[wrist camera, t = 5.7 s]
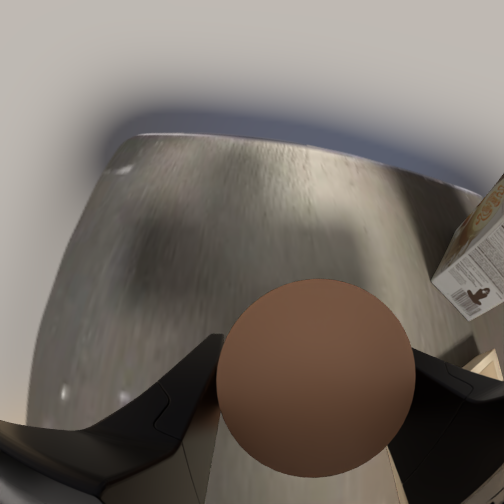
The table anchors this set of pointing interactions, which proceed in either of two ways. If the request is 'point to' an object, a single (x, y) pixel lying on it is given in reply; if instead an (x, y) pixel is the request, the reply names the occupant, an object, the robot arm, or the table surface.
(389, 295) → the table surface
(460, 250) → the coffee box
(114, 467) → the robot arm
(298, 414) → the peach rounded peg
